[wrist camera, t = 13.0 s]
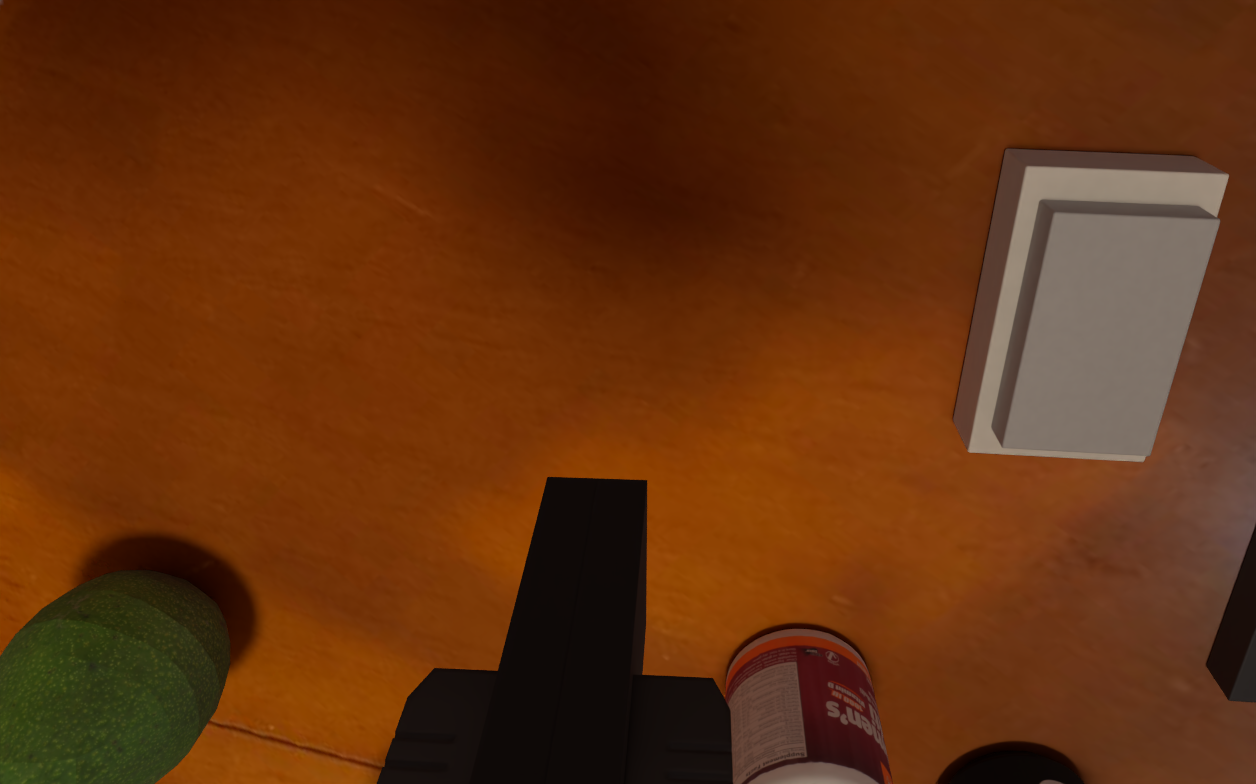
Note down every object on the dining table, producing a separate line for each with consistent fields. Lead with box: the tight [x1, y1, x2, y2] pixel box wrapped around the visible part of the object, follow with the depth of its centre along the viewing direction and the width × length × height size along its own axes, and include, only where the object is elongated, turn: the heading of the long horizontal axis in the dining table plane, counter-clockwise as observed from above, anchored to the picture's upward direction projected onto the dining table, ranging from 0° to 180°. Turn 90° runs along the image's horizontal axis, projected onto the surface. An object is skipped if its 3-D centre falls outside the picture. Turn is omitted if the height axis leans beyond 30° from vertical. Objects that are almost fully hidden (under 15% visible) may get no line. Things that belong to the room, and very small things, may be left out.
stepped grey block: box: [953, 149, 1229, 462], centre depth 33 cm, size 10×6×4 cm, turn 179°
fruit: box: [0, 570, 230, 784], centre depth 38 cm, size 8×8×12 cm
